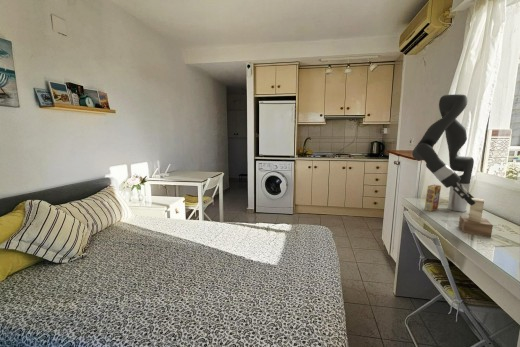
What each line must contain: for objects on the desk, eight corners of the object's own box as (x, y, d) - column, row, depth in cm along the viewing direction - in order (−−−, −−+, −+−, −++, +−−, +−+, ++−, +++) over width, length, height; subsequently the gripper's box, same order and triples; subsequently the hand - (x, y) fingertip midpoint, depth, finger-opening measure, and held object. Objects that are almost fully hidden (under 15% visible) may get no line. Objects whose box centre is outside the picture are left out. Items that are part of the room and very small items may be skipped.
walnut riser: (458, 226, 127) (459, 215, 126) (483, 230, 122) (485, 218, 121) (463, 233, 118) (464, 221, 117) (490, 237, 113) (492, 225, 112)
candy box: (432, 211, 151) (434, 186, 149) (424, 209, 155) (427, 185, 152) (438, 209, 156) (441, 185, 154) (430, 207, 159) (433, 184, 157)
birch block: (468, 217, 122) (471, 197, 120) (480, 219, 119) (484, 199, 117) (468, 220, 119) (471, 199, 117) (480, 222, 116) (484, 201, 114)
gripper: (453, 173, 117) (482, 201, 111) (454, 169, 128) (481, 195, 122) (438, 182, 121) (465, 210, 115) (440, 178, 132) (465, 203, 126)
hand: (473, 202), depth 119 cm, fingers open, 8 cm apart
